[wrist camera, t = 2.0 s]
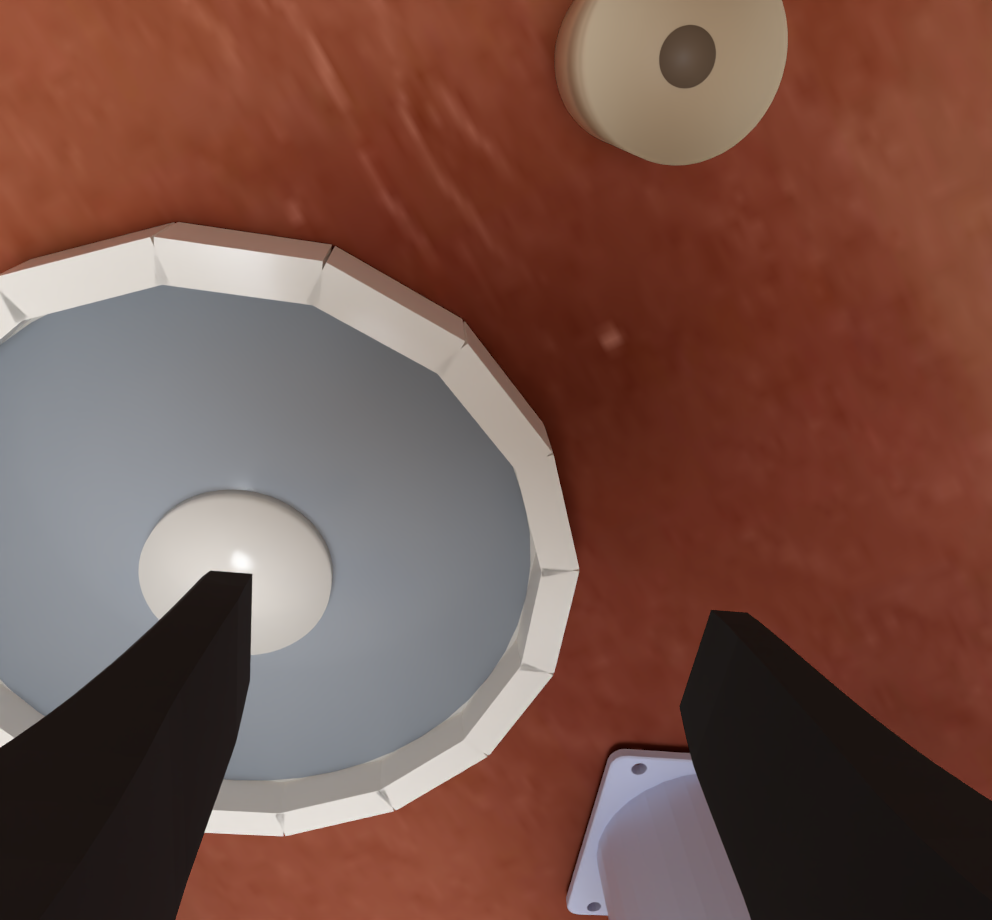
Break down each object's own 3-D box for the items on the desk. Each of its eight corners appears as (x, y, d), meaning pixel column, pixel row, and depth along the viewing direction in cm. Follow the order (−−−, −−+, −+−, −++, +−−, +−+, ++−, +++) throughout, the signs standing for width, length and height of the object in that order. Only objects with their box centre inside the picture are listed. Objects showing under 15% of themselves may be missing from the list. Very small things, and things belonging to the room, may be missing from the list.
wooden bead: (735, -19, 17) (817, -42, 14) (690, 157, 19) (753, 180, 15) (572, -53, 17) (611, -85, 13) (540, 131, 18) (567, 148, 15)
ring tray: (627, 287, 20) (644, 307, 18) (506, 801, 28) (511, 846, 26) (-168, 171, 17) (-230, 181, 16) (-58, 770, 25) (-91, 818, 23)
